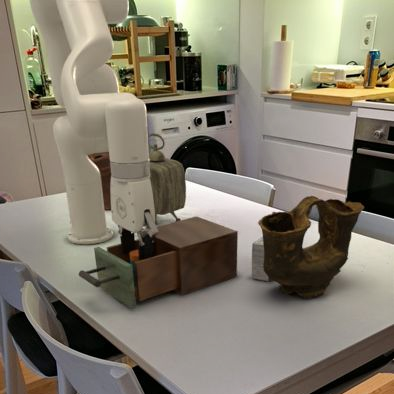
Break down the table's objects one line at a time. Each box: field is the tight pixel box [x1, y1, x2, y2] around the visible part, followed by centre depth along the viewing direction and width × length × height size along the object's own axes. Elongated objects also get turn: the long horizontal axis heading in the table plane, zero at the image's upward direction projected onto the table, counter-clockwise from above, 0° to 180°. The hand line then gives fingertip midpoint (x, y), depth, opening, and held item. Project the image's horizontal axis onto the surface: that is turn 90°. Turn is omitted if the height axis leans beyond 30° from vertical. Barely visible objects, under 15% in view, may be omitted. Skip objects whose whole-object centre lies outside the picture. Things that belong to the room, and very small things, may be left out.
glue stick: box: [129, 250, 139, 286], centre depth 109 cm, size 4×4×7 cm
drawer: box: [78, 238, 179, 308], centre depth 108 cm, size 20×14×9 cm
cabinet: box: [142, 215, 239, 297], centre depth 116 cm, size 16×15×11 cm
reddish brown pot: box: [88, 152, 111, 210], centre depth 167 cm, size 18×20×18 cm
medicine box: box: [250, 236, 271, 282], centre depth 116 cm, size 8×4×9 cm, turn 148°
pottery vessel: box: [257, 195, 365, 299], centre depth 106 cm, size 25×11×20 cm, turn 123°
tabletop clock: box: [148, 132, 187, 226], centre depth 147 cm, size 14×9×25 cm, turn 50°
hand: (137, 256), depth 108 cm, fingers open, 6 cm apart
